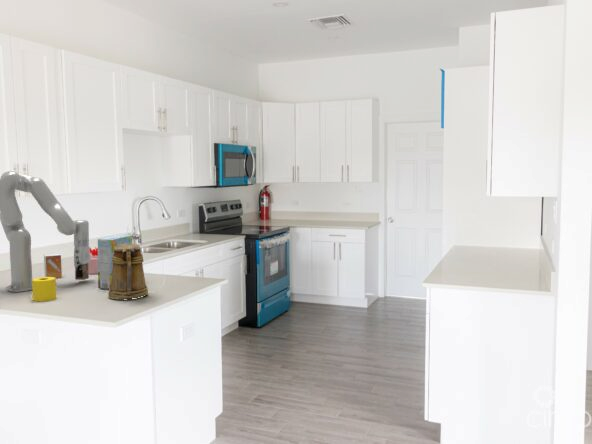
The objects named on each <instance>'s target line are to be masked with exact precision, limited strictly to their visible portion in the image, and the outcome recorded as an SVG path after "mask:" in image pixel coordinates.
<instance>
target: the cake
mask: <svg viewBox="0 0 592 444" xmlns="http://www.w3.org/2000/svg"><path fill="white" fill-rule="evenodd" d="M89 248H90V262H89V263H88V268H89V275H98V247H96V246H94V248H93V249H92V248H91V247H90V246H89Z"/></svg>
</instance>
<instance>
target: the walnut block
mask: <svg viewBox="0 0 592 444" xmlns="http://www.w3.org/2000/svg"><path fill="white" fill-rule="evenodd" d="M79 264H80V263H79ZM78 266H79V265H78ZM74 269H75V270H74V274H75V275H74V276H75V277H74V278H75V280H79V281H80V280H81V281H83V280H84V281H85V280H88V279H89V278H90V277H89V276H90V274H89V268H88V264H84V265H82V271H83V277H82V278H80V277H76V268H75V267H74Z"/></svg>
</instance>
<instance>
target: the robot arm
mask: <svg viewBox="0 0 592 444" xmlns="http://www.w3.org/2000/svg"><path fill="white" fill-rule="evenodd" d="M16 191H20V192H24V193H28V194H29V193H30V194H31V196H32V197H33V198H34V200H35V201H36V202H37V204H38V205H39V207H40V208H41V209H42V211H44V213H45V214H47V215H48V216H49V217H51V220H53V221H54V223H55V224H56V225H57V226H56V228H57V231H58V233H60V234H62V235H65V236H71V235H73V247H74V249H73V266H74V269H75V268H76V277H80V278H82V277H83V271H82V265H84V264H88V263H89V262H90V248H91V247H90V233H89V232H90V229H89V227H90V226H89V225H90V224H89V221H88V220H86V219H85V220H84V219H77V220H73V219H72V217H71V216H70V215H69V213H68V212H67V211H66V210H65V208H64V207H63V206H62V205H61V203H60V202H59V200H58V199H57V197H56V196H55V195H54V193H53V192H52V191H51V189H50V187H48V185H47V184H46V182H45V181H44V180H43V179H42V178H40V177H34V176H29V175H27V174H26V175H25V174H22V173H18V172H17V171H13V170H11V171H10V170H9V171H5V172H3V173H2V174H1V176H0V223H1V227H2V229H3V231H4V233H5V237H6V239H7V241H8V243H9V260H10V261H9V263H10V277H11V278H10V279H11V280H10V281H11V282H10V285H7V287H6V288H7V289H6V290H8V291H9V292H12V293H13V292H14V293H17V292H18V293H19V292H20V293H21V292H27V291H33V289H32V279H33V269H32V268H33V266H32V265H33V264H32V263H33V262H32V235H31V234H30V232H29V230H28V229H26V228H25V225H24V221H23V214H22V211H21V209H20V207H19V203H18V200H17V197H16ZM89 247H90V248H89ZM79 263H80V264H79ZM78 265H79V266H78Z"/></svg>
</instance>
